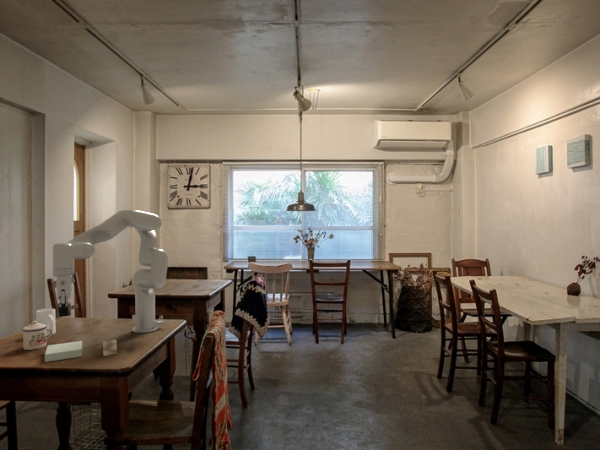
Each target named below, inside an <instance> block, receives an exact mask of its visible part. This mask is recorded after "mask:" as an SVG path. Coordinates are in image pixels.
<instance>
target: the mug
mask: <svg viewBox="0 0 600 450" xmlns="http://www.w3.org/2000/svg"><path fill="white" fill-rule="evenodd" d="M35 313H36V314H35V315H36V318H35V321H37V323H40V324H45V325H46V326H47V328H51V329H52V330H53V333H52V335H55V334H56V330H57V329H56V327H57V326H56V309H55V308H50V307H49V308H42V309H38V310H36V312H35ZM49 334H50V330H49V329H48V330H46V337H48V336H49Z"/></svg>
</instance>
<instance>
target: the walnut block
mask: <svg viewBox="0 0 600 450" xmlns="http://www.w3.org/2000/svg"><path fill="white" fill-rule="evenodd" d="M67 306H68V316H63V317H62V318H64V317H71V316H72V302H71V301H68V302H67ZM59 307H60V302H57V303H56V318H60V317H59Z"/></svg>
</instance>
